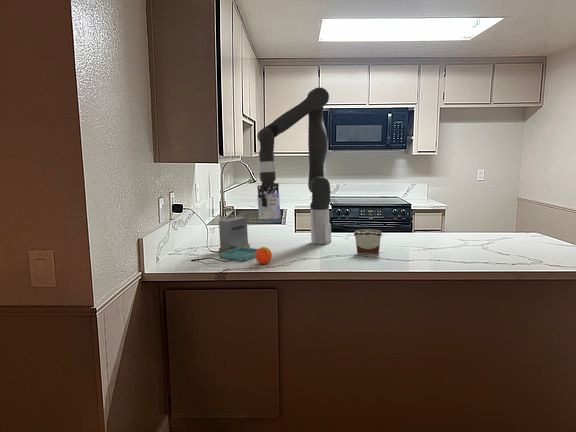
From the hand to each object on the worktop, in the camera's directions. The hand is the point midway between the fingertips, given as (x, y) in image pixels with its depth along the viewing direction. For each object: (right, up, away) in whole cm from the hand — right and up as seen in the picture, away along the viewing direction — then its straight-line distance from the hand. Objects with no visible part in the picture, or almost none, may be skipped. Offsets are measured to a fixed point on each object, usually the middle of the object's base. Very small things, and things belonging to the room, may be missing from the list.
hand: (269, 205), depth 197 cm
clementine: (-1, -25, -29) cm, 38 cm away
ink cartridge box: (0, -6, +1) cm, 7 cm away
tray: (-11, -23, -14) cm, 29 cm away
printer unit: (-17, -21, -1) cm, 27 cm away
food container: (+45, -22, -16) cm, 52 cm away
